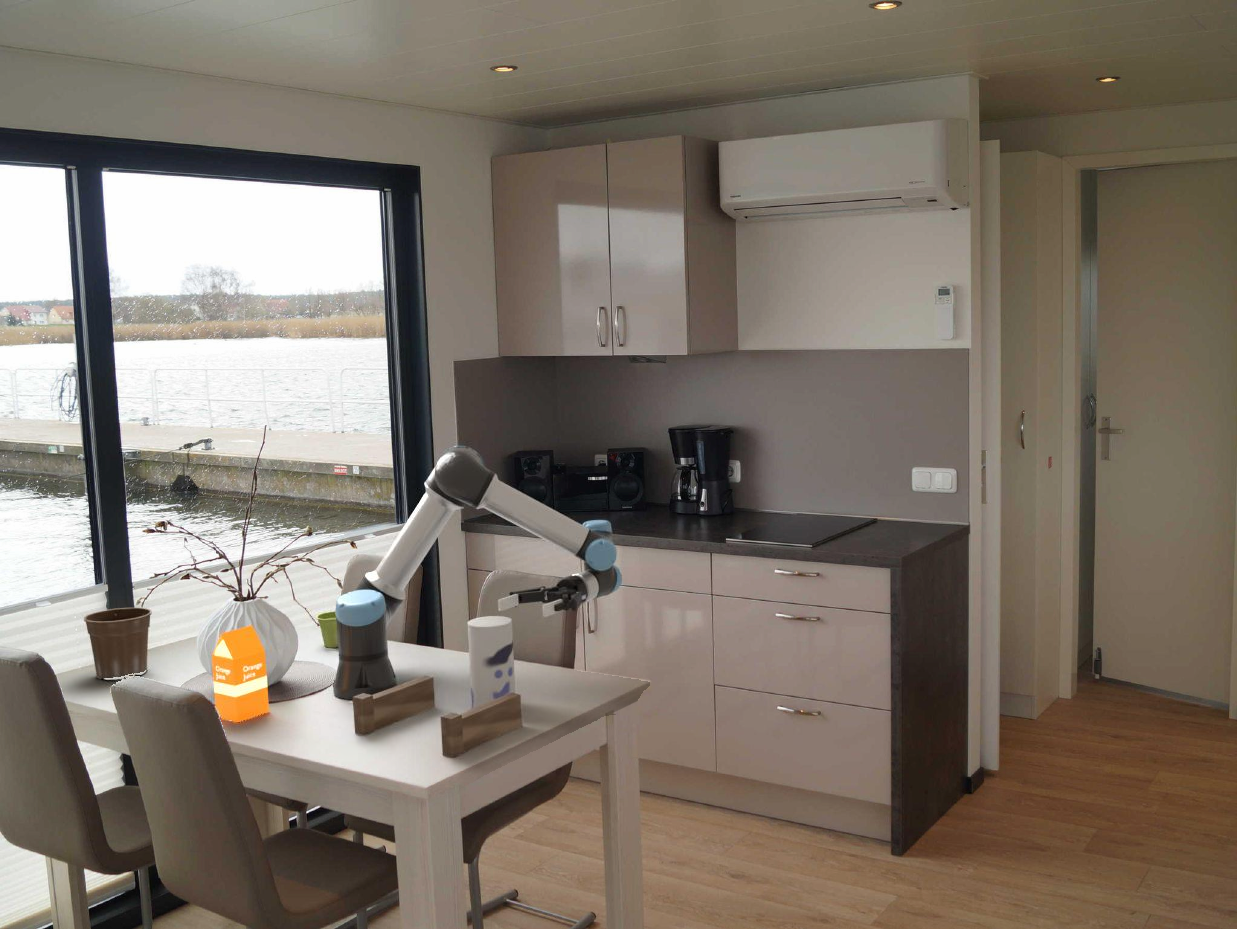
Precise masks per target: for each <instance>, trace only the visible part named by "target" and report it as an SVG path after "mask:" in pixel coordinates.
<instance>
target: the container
mask: <svg viewBox="0 0 1237 929" xmlns="http://www.w3.org/2000/svg"><path fill="white" fill-rule="evenodd" d="M513 634H514V633H513V619H512V618H511V617H507V616H503V615H502V616H501V615H489V616H481V617H480V616H479V617H475V618H472V619H470V620H468V621H467V636H468V637H467V638H468V658H469V673H470V674H469V677H470V678H469V679H470V696H471V709H473V708H476V707H478V706H480V705H483V704H485V703H488V702H490V701H493V700H495V699H497V698H500V697H502V696H505V695H507V694H509V693H516V681H515V657H514V635H513Z"/></svg>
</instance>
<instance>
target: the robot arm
mask: <svg viewBox="0 0 1237 929" xmlns="http://www.w3.org/2000/svg"><path fill="white" fill-rule="evenodd" d="M424 487H425V493H424V494H423V496H422V497H421V499H420V501H419V503H417V505H416V507H415V508H414V510H413V512H412V513H411V514H410V516H409V518H408V519H407V520H406V523H405V524H404V525H403V527H402V528H401V530H400V531H399V533H398V534H397V536H396V537H395V539H394V541H393V542H392V544H390V547H389V548H388V550H387V552H386V553H385V555H384V556H383V558H382V560H380V563H378V565H377V567H376V568H375V570H373V571H370V572H366V573H365V574H364V576H363V578H362V579H361V580H360V582H359V583H358V585H357V587H356V588H355V590H353V591H349V592H347V593H344V594H342V595H341V596H339V597H338V598H337V600H336V601H335V602H336V603H335V609H334V611H335V615H336V621H337V636H338V646H337V647H338V648H337V649H338V664H337V670H336V673H335V679H334V681H333V683H332V684H333V685H332V688H333V690H332V691H333V695H335V697H337V698H340V699H345V700H346V699H347V700H353V697H354V696H357V695H360V694H362V693H365V694H369V695H374V694H376V693H379V692H382V691H385V690H387V689H390V688H393V687H396V686H398V678H397V675H396V674H395V671H394V667H393V665H392V663H391V659H390V658H389V651H388V650H389V649H388V630H387V629H388V626H389V624H390V623H391V621H392V619H393V618H394V616H395V614H396V613H397V612H398V610H399V608H400V607H401V605H402V604H403V602H404V601H405V599H406V591H405V588H406V586H407V585H408V583H409V582H410V580H411V579H412V577H413V576H414V574H415V573H416V572H417V570H418V568H419V566H420V565H421V563H422V562H423V561H424V558H425V557H426V556H427V554H428V553H429V551H430V550H431V548H432V546H433V545H434V544H435V542H436V541H437V539H438V537H439V536H440V535H441V533H442V531H443V530H444V528H445V526H446V525H447V523H448V522H449V520H450V518H451V517H452V515H454V513H455V512H456V511H458V510H461V509H464V508H465V506H466V505H468V506H470V507H473V508H474V509H476V510H479V509H485V510H487V511H489V512H490V513H493V514H495V515H496V516H498V517H501V518H502V519H504V520H506V521H508V522H509V523H511V524H513V525H516V526H517V527H520V528H521V529H523V530H526V531H527V532H529V533H531V534H533V535H534V536H536V537H539V538H540V539H543V540H544V541H546V542H548V543H550V544H551V545H554V546H556V548H557V547H558V548H560V549H561V550H563V551H565V552H567V553H569V554H570V555H572V556H575V558H578V559H579V560H581V561H583V569H584V570H583V571H580V572H577V573H574V574H572V575H567V576H566V577H562V578H560V579H559V580H558V582H557V584H556V585H553V586H551V587H546V586H543V585H542V586H539V587H535V588H527V589H522V590H516V591H510V592H509V593H508V594H509V595H508V596H506V597H505V596H504V597H502V598H499V599H497V608H498V612H502V611H506V610H508V609H512V608H518V606H519V605H520V604H529V603H538V602H539V603H540V602H541V603H542V605H541V606H542V607H541V608H542V617H543V618H546V617H550V616H552V615H555V614H557V613H561V612H563V611H569V610H570V609H571V611H573V612H574V611H577V610H578V609H579V608H580V606H581V605H586V604H587V603H588V602H590V601H593V600H595V599H600V598H601V597H606V596H608V595H610V594H612V593H614V592H616V591H617V590H619V589H620V587H621V586H622V583H623V575H622V573H621V571H620V568H619V567H618V566H617V565H616V564H615V563H616V561H617V555H618V554H617V553H618V551H617V546H616V545H615V543H614V541H613V530H612V524H611V521H609V520H606V519H595V520H594V519H593V520H587V521H584V522H583V523H582V524H581V523H579V522H577V521H575V520H574V519H571V518H570V517H568V516H566V515H564V514H562V513H560V512H559V511H557V510H555V509H553V508H552V507H549V506H547V505H546V504H544V503H542V502H540V501H538V500H536V499H534V498H533V497H531V496H529V495H527V494H525V493H523V492H521V491H520V490H517V488H514V487H512V486H510V485H508V484H506V483H505V482H503V481H501V480H499V478H498V475H497V474H496V473H495V472H494V471H491V470H490V469H488V468H487V467H486V465H485V461H484V460H483V458H482V456H481V455H480V453H478V451H476V450H475V449H473V448H471V447H469V446H465V445H455V446H452V447H450V448H448V449H446V450H445V451H444V452H443V453H442V454H441V455H440V458H439V459H438V460H437V461H436V464H435V467H434V468H433V469H432V471H431V472H430V474H429V476H427V478H426V480H425V481H424Z"/></svg>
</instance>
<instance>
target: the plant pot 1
mask: <svg viewBox="0 0 1237 929" xmlns="http://www.w3.org/2000/svg"><path fill="white" fill-rule="evenodd" d="M152 614H153V611H152V609H150V608H147V607H146V608H145V607H121V608H120V607H118V608H111V609H106V610H101V611H96V612H92V613H90V614H87V615H85V616H84V617H83V621H84V622H85V624H86V625H85V626H86V630H87V634H88V636H89V638H90V639H89V640H90V645H91V649H92V657H93V663H94V668H95V669H94V670H95V674H96V677H97V676H98V677H99V678H113V677H121V676H125V675H128V674H132V673H133V674H134V673H140V672H144V671H145V670H147V671H148V650H149V649H148V648H149V647H148V644H149V643H148V642H149V628H150V627H151V615H152ZM129 676H133V675H129ZM124 678H125V677H124Z"/></svg>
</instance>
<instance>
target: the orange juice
mask: <svg viewBox="0 0 1237 929" xmlns="http://www.w3.org/2000/svg"><path fill="white" fill-rule="evenodd" d="M265 651H266V650H265V649H264V645H263V644H262V642H261V640H260V638H259V636H258V634H257V632H256V630H255V629H254V626H253V624H251V625H247V626H244V627H240V628H235V629H233V630H230V631H226V632H223V633H220V636H219V638H218V640H217V643H216V645H215V648H214V650H213V653H212V655H211V661H212V662H211V664H212V674H213V676H212V677H213V693H214V702H215V704H214V705H215V709H216V708H217V710H218V711H219V714H220V717H222V719H221V720H223V719H227V720H232V721H234V722H233V723H235V722H240V723H242V722H244V721H243V720H245V721H247V720H246V719H248V720H251V719H252V718H251V717H254V718H256V717H259V716H262V715H264V713H265V714H268V713H270V706H269V691H268V687H269V686H268V675H267V665H266V663H267V662H266V652H265ZM261 714H262V715H261ZM258 715H259V716H258ZM255 716H256V717H255ZM250 718H251V719H250ZM227 720H226V721H227ZM241 721H242V722H241Z"/></svg>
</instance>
